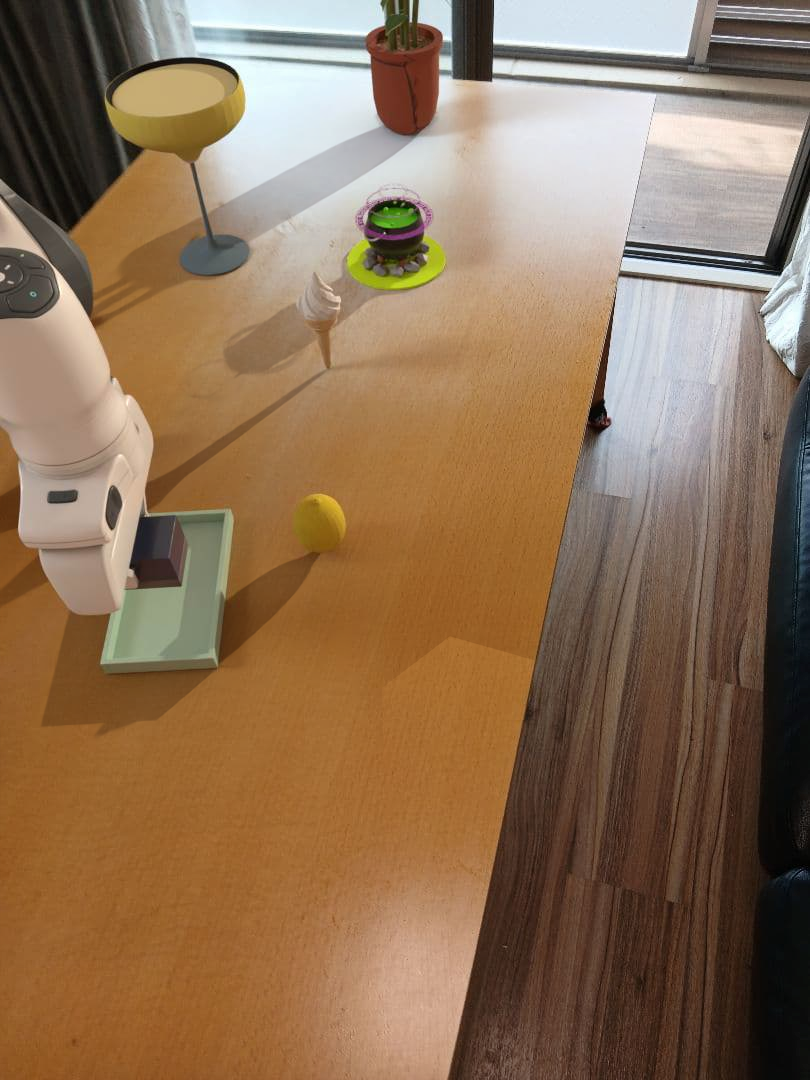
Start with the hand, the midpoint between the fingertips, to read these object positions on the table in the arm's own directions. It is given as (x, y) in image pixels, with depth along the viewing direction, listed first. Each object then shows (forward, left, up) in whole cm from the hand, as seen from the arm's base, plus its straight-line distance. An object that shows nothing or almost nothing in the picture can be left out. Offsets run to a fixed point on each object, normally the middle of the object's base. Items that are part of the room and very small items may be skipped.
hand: (136, 554), depth 75 cm
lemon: (+16, +9, -12) cm, 22 cm away
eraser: (0, 0, -2) cm, 2 cm away
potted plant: (+31, +103, -12) cm, 108 cm away
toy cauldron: (+26, +63, -12) cm, 69 cm away
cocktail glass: (-2, +67, -12) cm, 68 cm away
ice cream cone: (+16, +39, -12) cm, 44 cm away
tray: (0, +4, -12) cm, 13 cm away
